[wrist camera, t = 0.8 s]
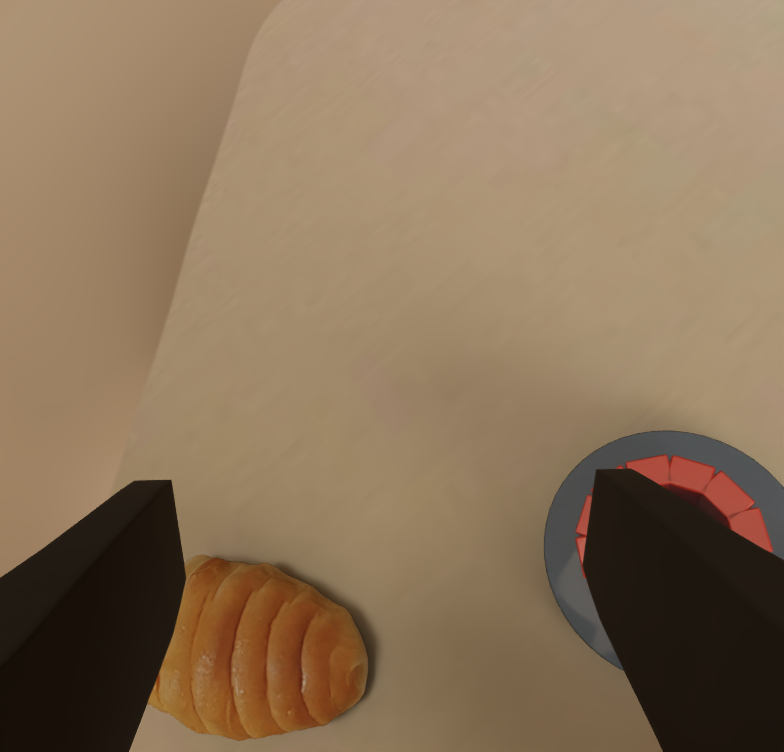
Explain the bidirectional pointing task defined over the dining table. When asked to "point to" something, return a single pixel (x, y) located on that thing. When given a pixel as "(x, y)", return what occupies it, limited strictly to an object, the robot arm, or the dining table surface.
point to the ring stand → (560, 550)
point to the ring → (695, 497)
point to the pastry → (257, 653)
